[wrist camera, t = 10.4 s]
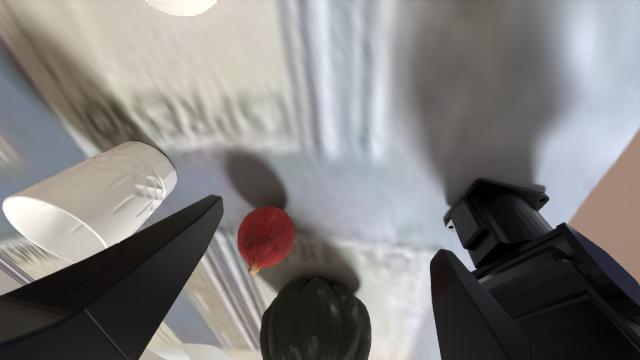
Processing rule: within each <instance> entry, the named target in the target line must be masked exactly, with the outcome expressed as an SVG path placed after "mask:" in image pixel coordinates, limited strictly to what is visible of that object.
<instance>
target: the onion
mask: <svg viewBox="0 0 640 360" xmlns="http://www.w3.org/2000/svg"><path fill="white" fill-rule="evenodd" d="M295 234H296V231H295V228H294V224H293V221H292V219H291V218H290V217H289V216H288V214H287V213H286V212H284V211H283V210H281V209H279V208H276V207H260V208H258V209H256V210H254V211H252V212H250V213H249V214H248V215H247V216H246V217H245V218H244V220H243V222H242V224H241V226H240V228H239V230H238V235H237V236H238V248H239V252H240V254H241V255H242V257H243V258H244V260H245V261H246V262H247V263H248V264H249V269H248V272H249V273H250V274H252V275H254V274H256V273H258V271H259V270H260V268H264V267H269V266H272V265H275V264H277V263H279V262H280V261H282V260H283V259H284V258H285V257H286V256H287V255H288V254H289V253H290V252H291V250H292V248H293V245H294V242H295Z"/></svg>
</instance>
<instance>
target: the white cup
mask: <svg viewBox="0 0 640 360" xmlns="http://www.w3.org/2000/svg"><path fill="white" fill-rule="evenodd" d="M176 183H177V175H176V171H175V168H174V167H173V165H172V164H171V162H170V161H169V160H168V158H167V157H166V156H165V155H163V154H162V153H161V152H160V151H158V150H157V149H156V148H154V147H152V146H150V145H147V144H145V143H142V142H136V141H127V142H124V143H122V144H120V145H118V146H116V147H114V148H112V149H110V150H108V151H106V152H104V153H101V154H97V155H95V156H93V157H91V158H88V159H86V160H84V161H82V162H80V163H78V164H76V165H73V166H71V167H69V168H66V169H64V170H62V171H60V172H58V173H56V174H54V175H52V176H50V177H48V178H46V179H44V180H42V181H40V182H38V183H36V184H34V185H32V186H30V187H28V188H26V189H24V190H22V191H19V192H17V193H15V194H13V195H11V196H9V197H7V198H6V199H5V200H4V201H3V204H2V208H3V212H4V214H5V216H6V217H7V219H8V220H9V222H10V223H11V224H12V225H13V226H14V227H15V228H16V229H17V230H18V231H19V232H20V233H21V234H22V235H24V236H25V237H26V238H27V239H29V240H30V241H31V242H33V243H34V244H36V245H38V246H39V247H41V248H42V249H44V250H46V251H48V252H50V253H52V254H54V255H56V256H58V257H60V258H63V259H65V260H68V261H71V262H74V263H77V262H79V261H81V260H83V259H86V258H88V257H90V256H92V255H94V254H96V253H98V252H100V251H102V250H104V249H106V248H108V247H110V246H112V245H114V244H116V243H120V241H122V240H124V239H126V238H128V237H129V236H131V235H133V233H134V232H135V231H136V230H137V229H138V228H139V227H140V226H141V225H142V224H143V223H144V222H145V221H146V220H147V218H148V217H149V216H150V215H151V213H152V212H153V211H154V210H156V208H157V207H158V206H159V205H160V203H161V202H162V201H163V199H164V198H165V197H166V196H167V195H168V194H169V193H170V192H171V191H172V190H173V189H174V187H175V185H176Z"/></svg>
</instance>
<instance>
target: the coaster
mask: <svg viewBox="0 0 640 360" xmlns="http://www.w3.org/2000/svg"><path fill="white" fill-rule="evenodd" d="M145 1H146V2H147V3H149V4H150V5H152V6H154V7H155V8H157V9H159V10H161V11H163V12H165V13H169V14H172V15H177V16H194V15H199V14H201V13H204V12H206V11H207V10H209V9H211V8H212V7H213V6H214V5H215V4H216V3H217V2H218V1H219V0H145Z"/></svg>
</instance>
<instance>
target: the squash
mask: <svg viewBox="0 0 640 360" xmlns="http://www.w3.org/2000/svg"><path fill="white" fill-rule="evenodd" d="M260 348H261V353H262V357H263V360H368V356H369V352H370V348H371V323H370V318H369V314H368V311H367V308H366V306H365V305H364V304H363V303H362V301H361V300H359V299H358V298H357V297H355V296H354V295H353V293H352V292H351V290H350V289H349V288H348V287H346V286H343V285H340V284H334V285H332V286H329V285H328V283H327V282H326V281H325V280H324V279H323V278H320V277H315V278H313V279H311V280H310V281H309V282H308V283H307V282H306V281H304V280H301V279H296V280H292V281H290V282H288V283H287V284H286V285H285V286H284V287H283V288H282V289H281V291H280V292H279V294H278V295H277V297H276V298H275V299H274V300H273V302H272V303H271V305H270V306H269V307H268V309H267V310H266V311H265V312H264V314H263V317H262V324H261V331H260Z"/></svg>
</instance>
